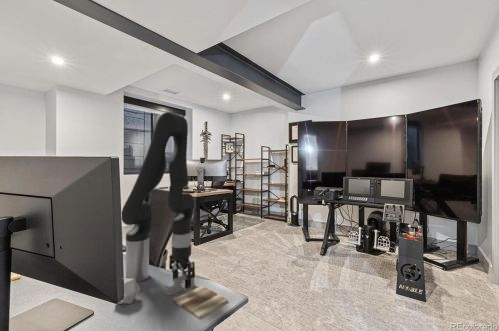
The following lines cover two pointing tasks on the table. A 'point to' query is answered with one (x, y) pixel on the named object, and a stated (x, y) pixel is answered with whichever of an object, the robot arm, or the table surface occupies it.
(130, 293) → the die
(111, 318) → the table surface
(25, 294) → the table surface
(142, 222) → the robot arm
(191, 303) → the board
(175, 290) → the garden wall model
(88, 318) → the table surface
